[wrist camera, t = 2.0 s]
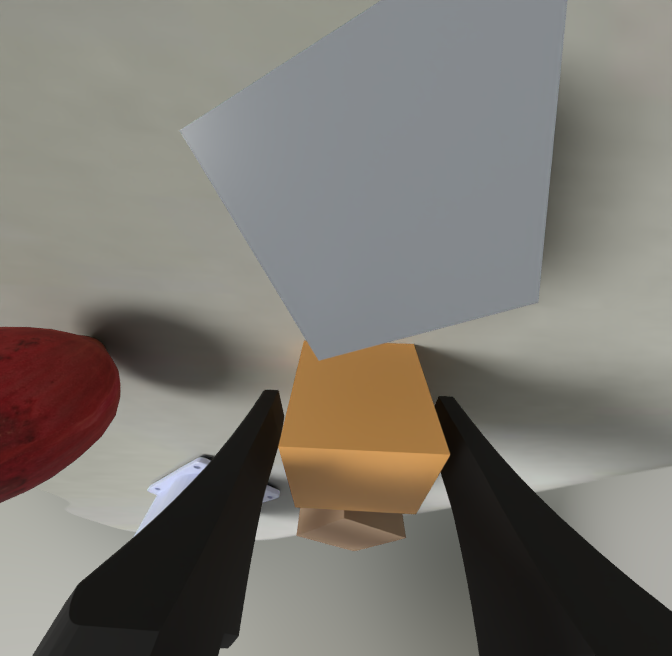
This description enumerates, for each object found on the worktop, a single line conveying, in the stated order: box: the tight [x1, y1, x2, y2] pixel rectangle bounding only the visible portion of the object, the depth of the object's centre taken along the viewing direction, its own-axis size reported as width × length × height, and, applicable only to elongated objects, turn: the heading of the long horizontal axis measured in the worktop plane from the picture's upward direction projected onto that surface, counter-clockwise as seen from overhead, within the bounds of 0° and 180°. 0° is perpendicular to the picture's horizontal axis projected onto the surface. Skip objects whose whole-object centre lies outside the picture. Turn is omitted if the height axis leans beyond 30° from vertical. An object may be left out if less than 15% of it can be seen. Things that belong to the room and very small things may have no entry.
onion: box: [0, 327, 120, 503], centre depth 8 cm, size 6×6×8 cm
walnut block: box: [297, 508, 406, 551], centre depth 16 cm, size 4×4×4 cm
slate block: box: [179, 0, 567, 361], centre depth 6 cm, size 4×4×4 cm
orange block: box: [278, 341, 450, 514], centre depth 10 cm, size 5×5×5 cm
